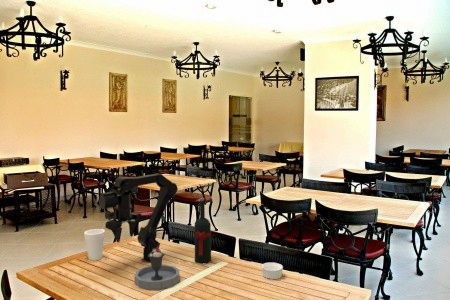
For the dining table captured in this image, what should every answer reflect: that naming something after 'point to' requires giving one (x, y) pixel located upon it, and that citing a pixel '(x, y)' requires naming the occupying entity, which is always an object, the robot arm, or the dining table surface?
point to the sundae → (156, 262)
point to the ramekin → (272, 270)
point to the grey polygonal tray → (169, 280)
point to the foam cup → (94, 243)
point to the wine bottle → (202, 237)
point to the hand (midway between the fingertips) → (124, 239)
